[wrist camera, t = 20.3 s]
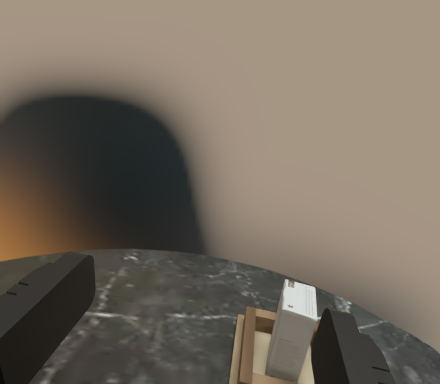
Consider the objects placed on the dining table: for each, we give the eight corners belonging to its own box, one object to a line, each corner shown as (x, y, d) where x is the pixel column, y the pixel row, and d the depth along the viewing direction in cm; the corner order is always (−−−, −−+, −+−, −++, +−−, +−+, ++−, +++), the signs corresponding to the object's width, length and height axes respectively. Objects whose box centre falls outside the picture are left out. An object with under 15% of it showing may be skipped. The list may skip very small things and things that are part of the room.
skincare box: (296, 391, 36) (321, 322, 31) (261, 379, 36) (281, 310, 32) (297, 350, 41) (319, 287, 36) (267, 340, 42) (284, 277, 37)
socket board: (225, 409, 34) (230, 387, 32) (237, 319, 46) (241, 300, 45) (342, 441, 32) (354, 419, 31) (321, 338, 45) (328, 319, 43)
